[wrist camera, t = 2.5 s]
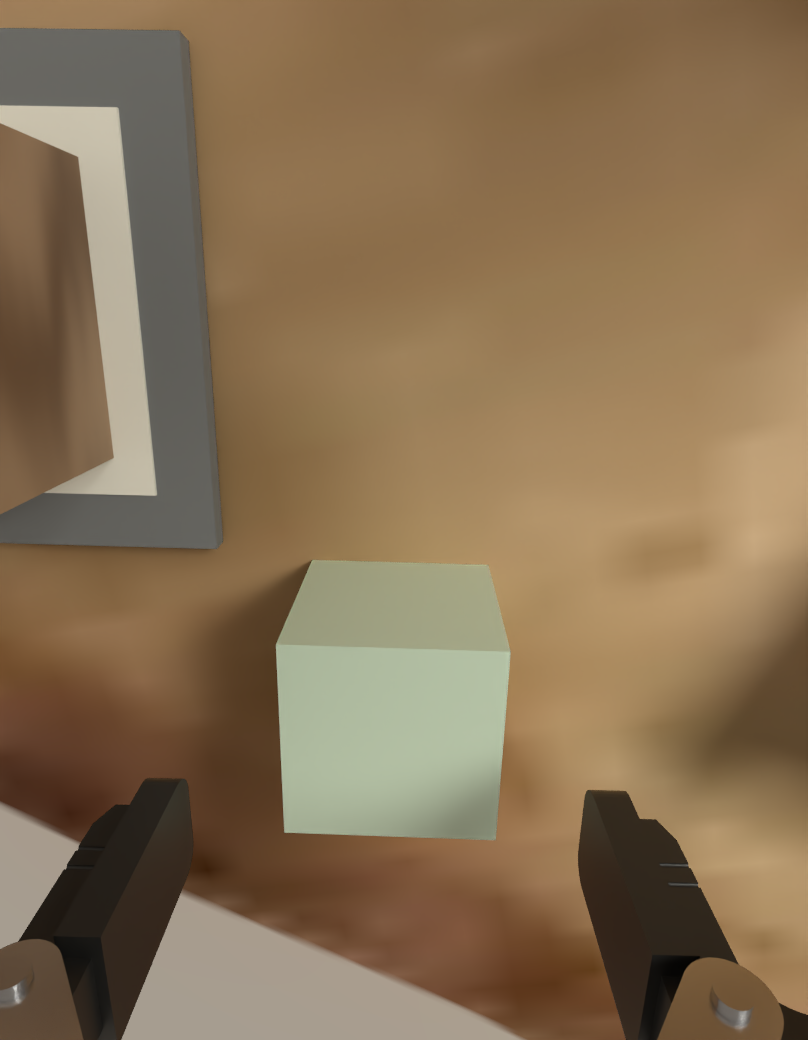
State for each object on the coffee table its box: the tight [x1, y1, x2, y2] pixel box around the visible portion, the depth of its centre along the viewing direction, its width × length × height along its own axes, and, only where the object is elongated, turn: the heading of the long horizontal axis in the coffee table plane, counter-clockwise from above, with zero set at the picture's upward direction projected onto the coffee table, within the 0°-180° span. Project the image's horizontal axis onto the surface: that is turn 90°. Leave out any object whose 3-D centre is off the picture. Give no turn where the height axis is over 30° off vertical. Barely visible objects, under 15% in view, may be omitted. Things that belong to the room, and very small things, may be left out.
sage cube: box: [276, 560, 511, 840], centre depth 17 cm, size 5×5×5 cm
